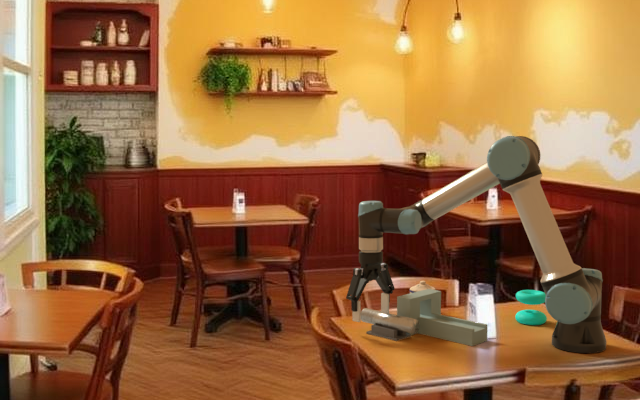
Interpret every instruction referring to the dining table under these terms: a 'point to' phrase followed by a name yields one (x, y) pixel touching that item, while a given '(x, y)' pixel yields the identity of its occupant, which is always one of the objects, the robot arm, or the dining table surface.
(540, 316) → the donuts
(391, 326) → the dowel
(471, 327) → the shelf
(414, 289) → the teacup with lid
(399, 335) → the cradle
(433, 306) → the grey-green rectangular arch
